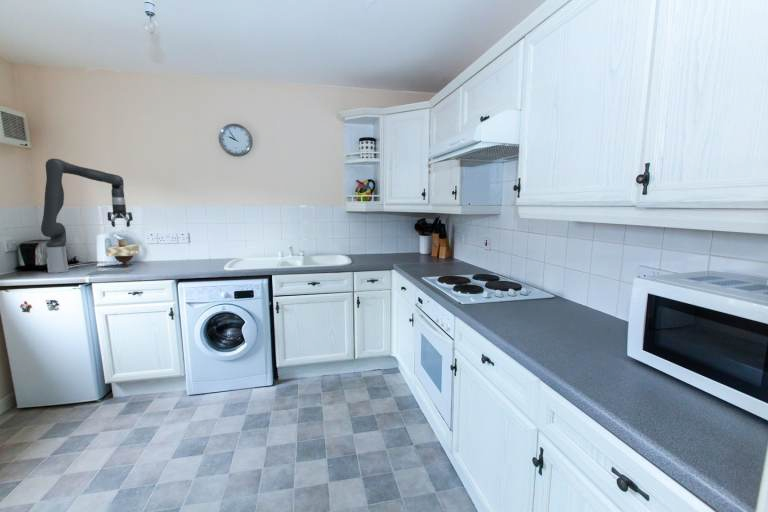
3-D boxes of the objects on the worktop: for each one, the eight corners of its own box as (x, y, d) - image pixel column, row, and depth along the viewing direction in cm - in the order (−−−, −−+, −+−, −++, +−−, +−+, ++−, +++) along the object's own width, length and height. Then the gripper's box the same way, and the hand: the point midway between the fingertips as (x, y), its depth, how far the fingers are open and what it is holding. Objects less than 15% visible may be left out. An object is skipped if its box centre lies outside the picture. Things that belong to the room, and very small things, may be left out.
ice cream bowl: (117, 267, 254) (115, 246, 251) (135, 266, 258) (133, 246, 256) (113, 269, 244) (111, 248, 242) (132, 268, 249) (130, 247, 247)
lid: (106, 256, 241) (104, 241, 239) (116, 252, 255) (114, 238, 253) (131, 255, 245) (129, 240, 243) (139, 252, 259) (137, 237, 257)
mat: (84, 275, 223) (84, 275, 223) (96, 271, 237) (96, 270, 237) (127, 274, 230) (127, 273, 230) (136, 270, 244) (136, 269, 244)
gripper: (104, 203, 239) (106, 227, 241) (128, 204, 243) (130, 227, 245) (109, 203, 246) (111, 226, 248) (132, 204, 250) (134, 226, 252)
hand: (121, 226), depth 247 cm, fingers open, 8 cm apart
